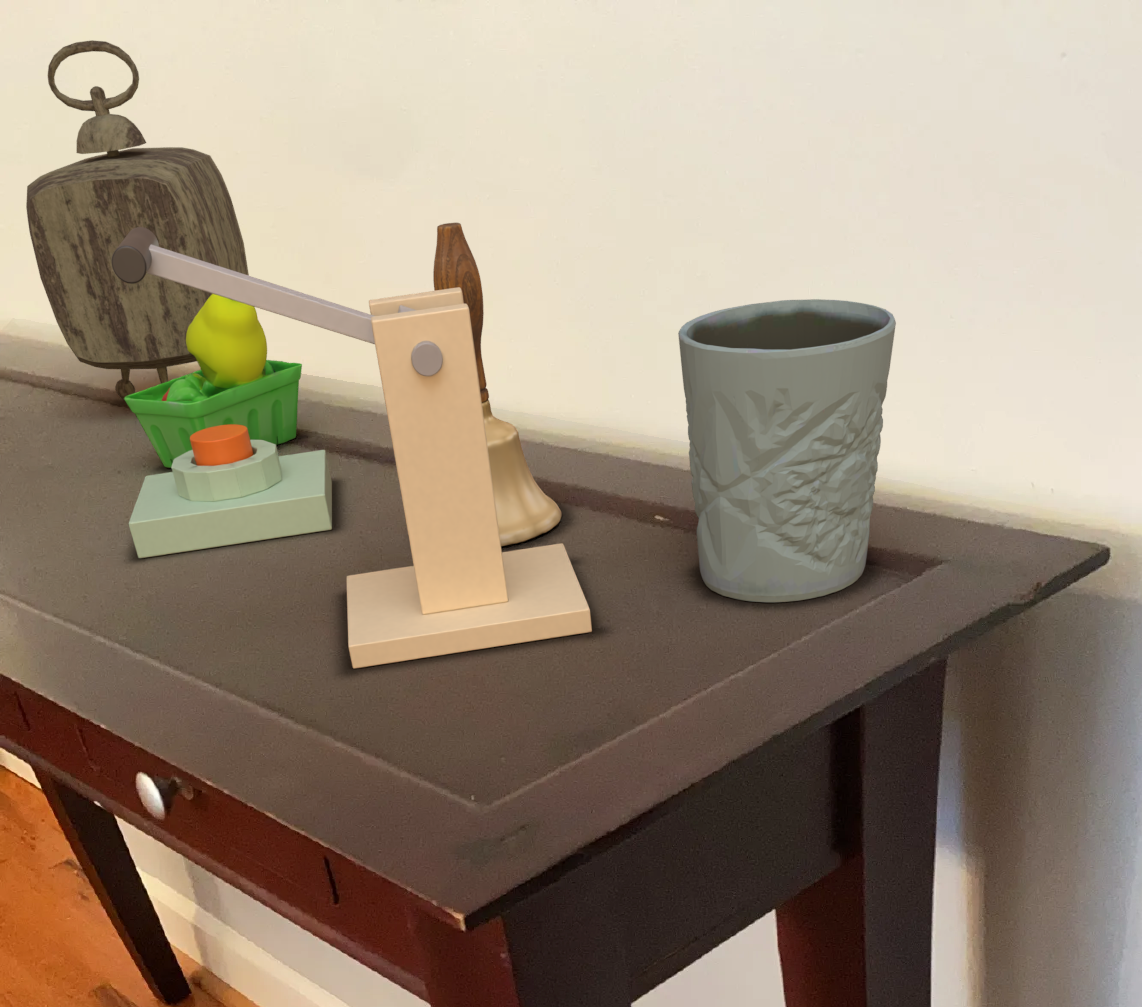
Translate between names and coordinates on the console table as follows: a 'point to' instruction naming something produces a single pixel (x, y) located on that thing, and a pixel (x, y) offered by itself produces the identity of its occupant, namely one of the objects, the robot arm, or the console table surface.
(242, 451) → the orange push button
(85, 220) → the tabletop clock
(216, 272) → the press lever
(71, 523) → the console table surface
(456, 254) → the hand bell
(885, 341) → the drinking glass
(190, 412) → the fruit basket
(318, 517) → the button block
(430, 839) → the console table surface
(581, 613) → the lever bracket
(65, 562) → the console table surface
